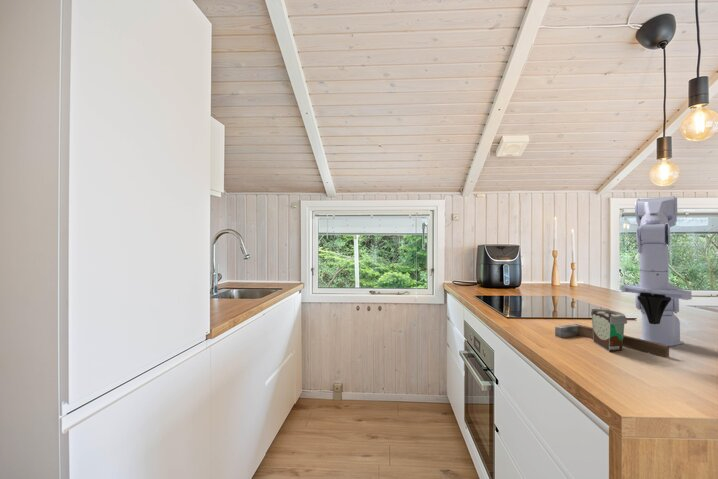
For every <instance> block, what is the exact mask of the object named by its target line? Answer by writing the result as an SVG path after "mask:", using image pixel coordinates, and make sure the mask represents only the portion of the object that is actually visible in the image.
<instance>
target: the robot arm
mask: <svg viewBox="0 0 718 479" xmlns="http://www.w3.org/2000/svg"><path fill="white" fill-rule="evenodd" d="M634 214H635V215H634V216H635V221H636V224H637V228H636V233H635V234H636V235H635V236H636V244H637V253H639V255H638V261H639V262H638V267H639V274H638V275H639V282H638V284H637V285H636V284H635V285H634V284H627V283H625V284H621V286H620V288H621V292H622V293H633V294H634V293H635V308H636V309H637V310H638V311H640V312H641V337H637V338H638V339H643V340H647V341H651V342H656V343H660V344H664V345H669V347H673V346H678V345H682V344H685V342H684V341H682V340H681V322H680V319H679V318H678V316H677V315H676V314H678V313H679V312H680V300H683V301H684V300H686V301H688V300H689V301H690V300H692V291H690V290H683V289H679V288H678V287H677V286H676V285H675V284H673V283H672V282H670V281H669V276H670V274H669V247H670V244H671V227H674V226H676V223H677V222H678V219H677V218H678V217H677V216H678V198H677V197H676V196H675V195H673V196H672V195H671V196H666V197H665V196H664V197H663V196H662V197H651V198H637V199H635V202H634Z"/></svg>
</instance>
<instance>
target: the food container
mask: <svg viewBox="0 0 718 479" xmlns="http://www.w3.org/2000/svg"><path fill="white" fill-rule="evenodd" d="M590 316H591V321H592V322H591V324H592V328H593V339H592V341H593V343H594V344H595V345H597V346H599V347H600V348H602V349H603V348H604V349H603V350H605V351H606V352H608V351H609V352H608V353H619V352H622V351H623V348H624V347H623V335H625V334H624V332H625V325H626V324H627V323H628V320H627V317H626V315H625V313H623V312H619V311H616V310H615V311H614V310H610V309H599V308H591V310H590Z"/></svg>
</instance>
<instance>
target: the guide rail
mask: <svg viewBox="0 0 718 479" xmlns="http://www.w3.org/2000/svg"><path fill="white" fill-rule="evenodd" d="M554 328H555V329H554V335H555V337H557V338H566V337H574V336H580V337H581V336H582V337H585V338H588V339H591V340H593V327H591V326H587V325H582V324H578V323H574V324H573V323H572V324H565V325H558V326H555V327H554ZM638 338H639V337H634V336H628V335H625V334H624V335H623V348H626V349H630V350H631V349H632V350H635V351H639V352H643V353H646V354H650V355H654V356H657V357H661V358H662V357H663V358H664V359H666V358H670V346H669V345H664V344H660V343H656V342H651V341H647V340H643V339H638Z"/></svg>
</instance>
